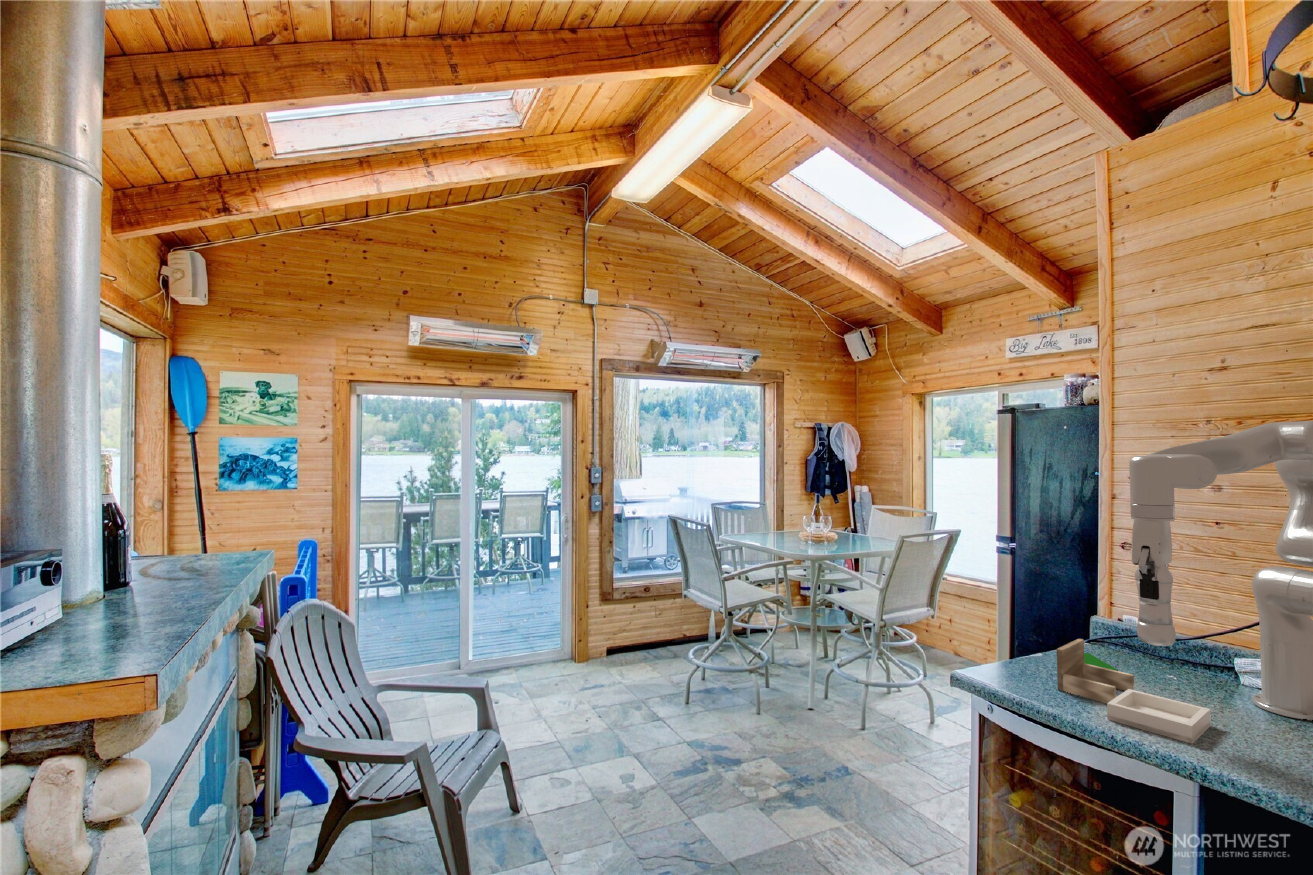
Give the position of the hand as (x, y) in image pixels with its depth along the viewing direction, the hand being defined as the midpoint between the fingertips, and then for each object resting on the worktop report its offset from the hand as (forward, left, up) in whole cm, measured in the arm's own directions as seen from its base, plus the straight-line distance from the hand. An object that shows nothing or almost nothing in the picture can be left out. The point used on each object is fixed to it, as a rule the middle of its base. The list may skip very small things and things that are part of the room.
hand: (1154, 595), depth 135 cm
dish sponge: (+22, -27, -28) cm, 45 cm away
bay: (+14, -10, -27) cm, 32 cm away
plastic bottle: (0, 0, -11) cm, 11 cm away
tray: (0, 0, -27) cm, 27 cm away
